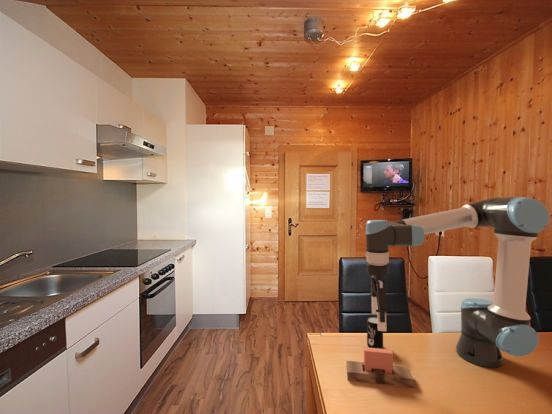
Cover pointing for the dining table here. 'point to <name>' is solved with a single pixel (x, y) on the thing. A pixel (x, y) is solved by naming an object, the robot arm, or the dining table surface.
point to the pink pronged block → (378, 359)
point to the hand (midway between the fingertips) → (378, 321)
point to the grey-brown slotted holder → (380, 375)
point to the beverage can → (374, 334)
